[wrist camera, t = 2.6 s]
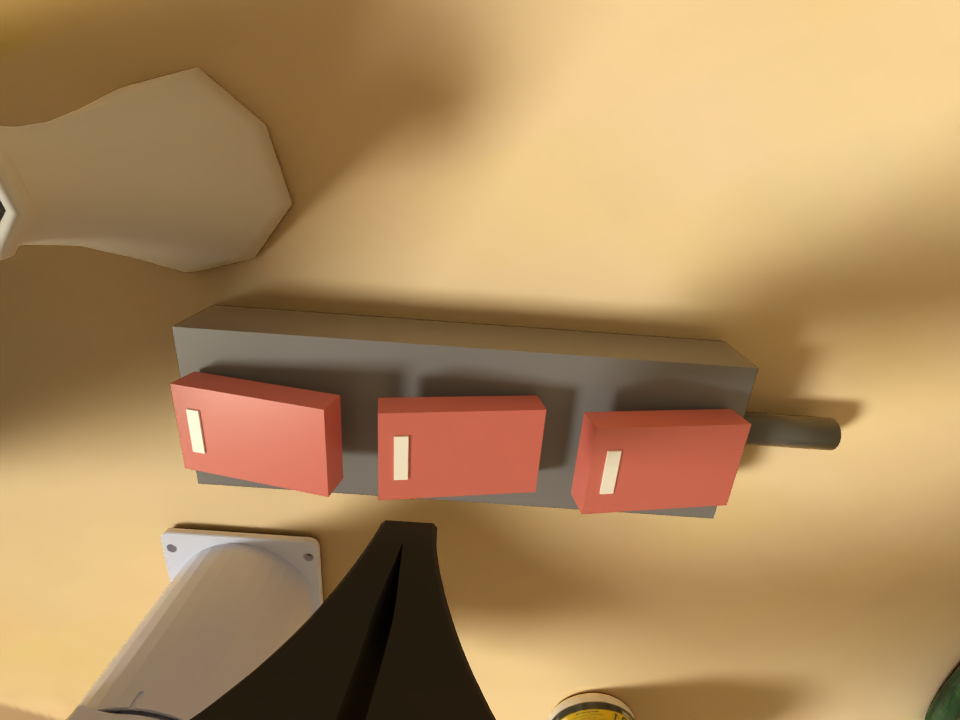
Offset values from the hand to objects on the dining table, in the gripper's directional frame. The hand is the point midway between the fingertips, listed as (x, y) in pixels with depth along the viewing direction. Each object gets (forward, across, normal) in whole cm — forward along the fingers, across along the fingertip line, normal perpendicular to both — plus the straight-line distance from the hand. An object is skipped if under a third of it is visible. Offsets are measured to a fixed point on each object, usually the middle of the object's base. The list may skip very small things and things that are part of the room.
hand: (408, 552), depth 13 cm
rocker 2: (+6, -1, 0) cm, 6 cm away
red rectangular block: (+6, -8, 0) cm, 10 cm away
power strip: (+10, -4, +1) cm, 11 cm away
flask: (+11, +10, -8) cm, 17 cm away
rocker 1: (+6, +6, 0) cm, 9 cm away
